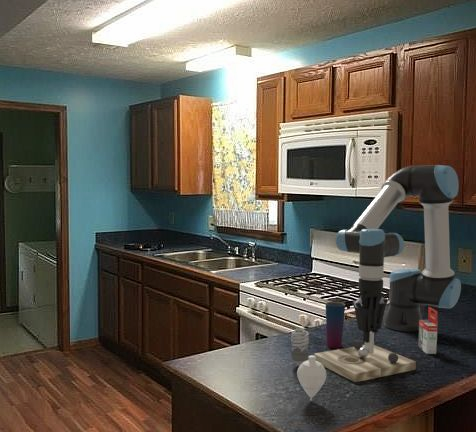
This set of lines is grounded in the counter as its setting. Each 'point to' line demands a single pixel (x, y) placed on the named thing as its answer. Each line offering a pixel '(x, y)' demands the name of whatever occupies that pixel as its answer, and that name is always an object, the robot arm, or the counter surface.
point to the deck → (363, 363)
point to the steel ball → (363, 352)
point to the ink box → (428, 332)
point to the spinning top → (311, 376)
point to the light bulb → (298, 352)
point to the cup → (334, 323)
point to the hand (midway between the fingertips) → (368, 351)
